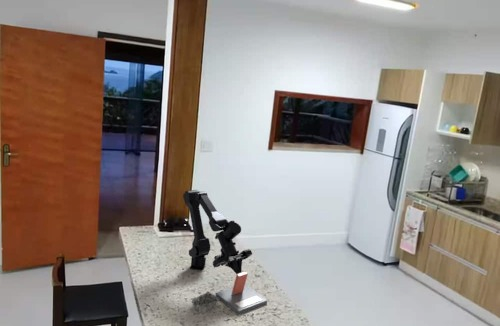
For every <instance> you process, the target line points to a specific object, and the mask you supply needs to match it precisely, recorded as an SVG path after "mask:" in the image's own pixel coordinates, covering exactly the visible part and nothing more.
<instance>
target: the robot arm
mask: <svg viewBox="0 0 500 326" xmlns="http://www.w3.org/2000/svg"><path fill="white" fill-rule="evenodd" d="M182 198H183V202H184V204H185V206H186V207H187V208H188V210H189V215H190V219H191V220H190V221H191V225H192V231H193V239H192V243H191V245H192V247H191V248H190V249H189V250H188V256H190V257H191V261H190V266H189V268H190V269H191V270H192V269H193V270H200V271H204V268H205V267H206V264H207V263H206V261H207V257H206V256H209V254H210V251H211V244H210V238H209V237H206V235H205V232H204V227H203V223H202V222H203V221H202V216H201V210H200V206H201V208H202V210H203V211H204V213H205V214H206V216H207V218H208V224H209V227H210V230H211V231H213V232H216V233H215V237H214V240H218V242H219V245H220V247H221V248H220V253H221V254H217V255H214V260H213V261H212V266H213V268H219V267H221V266H222V267H223V266H224V267H228V268H230V269H231V270H232V271H233V272H234V273H235V274H236V275H237V274H238V273H242V266H243V265H242V264H243V260H246V259H248V258H249V257H251V256H252V255H253V252H252V250H251V249H249V248H248V249H245V250H242V251H241V252H240V251H239V250H237V249H236V242H235V241H233V239H235V238H236V237H237V236H238V235H240V234H241V232H242V227H241V225H240V224H239V223H237V222H235V220H233V219H232V220H230V221H228V220H227V218H226V217H225V216H224V214H222V213H220V212H218V211H217V208H216V207H215V206H214V204H213V203H212V201H211V199H210V198H209V196H208V193H207V192H206V191H200V190H198V189H193V190H191V189H190V190H186V191H184V193H183V194H182Z"/></svg>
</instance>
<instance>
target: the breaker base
mask: <svg viewBox="0 0 500 326" xmlns="http://www.w3.org/2000/svg"><path fill="white" fill-rule="evenodd" d="M233 287H234V286H233ZM233 287H230V288H226V289H224V290H220V291H218V292H215V296H216V297H217V299H219V300H220V301H221V302H222V303H223V304H225V305H226V306H228V307H229V308H230V310H231V309H232V310H233V311H234V312H235V313H236V314H238V315H240V314H244V313H245V312H248V311H251V310H254V309H256V308H258V307H261V306H264V305H266V304H267V303H268V299H267V298H265V297H264V296H263V295H261V294H259V293H258V292H257V291H255V290H254V289H252V288H250V287H249V286H248V285H247V284H245V286H244V290H243V292H241V293H238V294H235V295H232V294H231V293H232V290H233Z"/></svg>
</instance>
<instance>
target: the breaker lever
mask: <svg viewBox="0 0 500 326" xmlns="http://www.w3.org/2000/svg"><path fill="white" fill-rule="evenodd" d="M248 274H249V273H248V271H243V272H242V271H241V273H238V274H236V276H235V279H234V284H233V290H232V293H231V294H232V295H235V294H238V293H241V292H243V290H244V286H245V285H246V281H247V278H248Z"/></svg>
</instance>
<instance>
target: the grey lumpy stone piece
mask: <svg viewBox="0 0 500 326" xmlns="http://www.w3.org/2000/svg"><path fill="white" fill-rule="evenodd" d="M219 300H220V299H219V298H218V297H216V295H214V294H213V293H211V292H210V291H207V292H205V293H202V294H200V295H199V296H197V297H194V298H192V299H191V301H190V303H191V304H192V309H193V310H198V313H201V314H202V313H203V314H205V313H206V312H207V310H211V309H212V308H213V307H217V306H218V303H219ZM200 303H204V304H202V305H200Z"/></svg>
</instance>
